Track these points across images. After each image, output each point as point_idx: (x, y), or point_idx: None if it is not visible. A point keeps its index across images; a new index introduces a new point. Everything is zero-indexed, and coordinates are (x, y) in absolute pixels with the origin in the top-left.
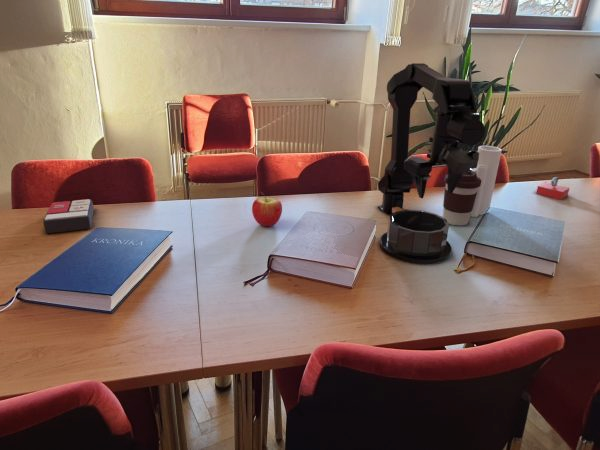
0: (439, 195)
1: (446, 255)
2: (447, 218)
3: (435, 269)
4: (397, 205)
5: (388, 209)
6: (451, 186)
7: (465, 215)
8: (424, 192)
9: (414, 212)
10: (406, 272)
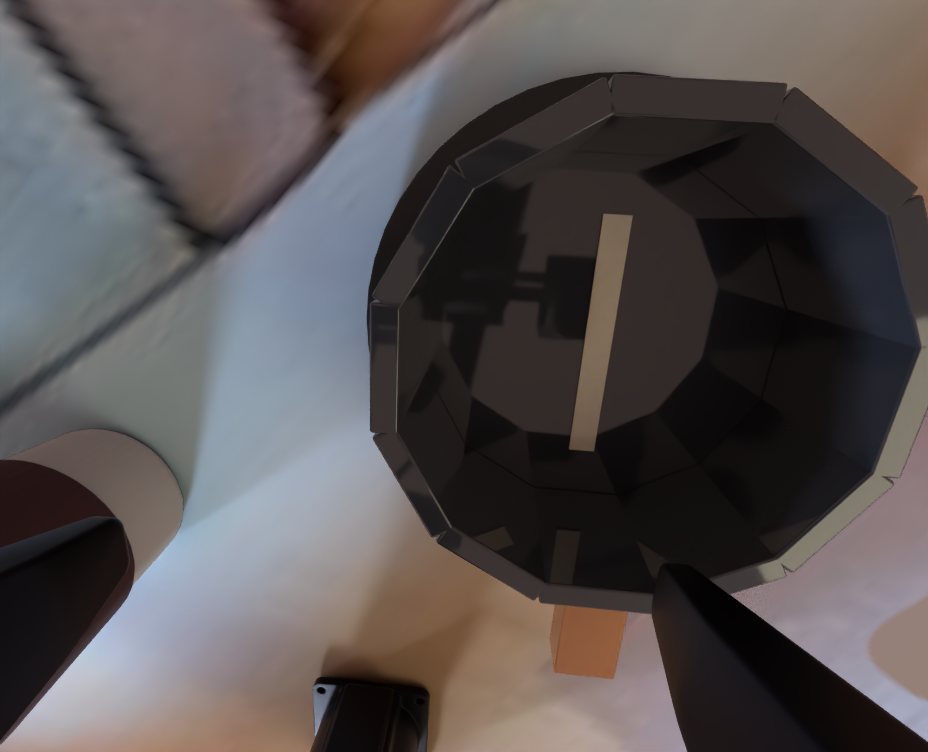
0: (15, 742)
1: (537, 90)
2: (164, 507)
3: (706, 9)
4: (373, 729)
5: (409, 725)
6: (4, 620)
7: (45, 456)
8: (722, 631)
9: (505, 550)
10: (917, 64)
